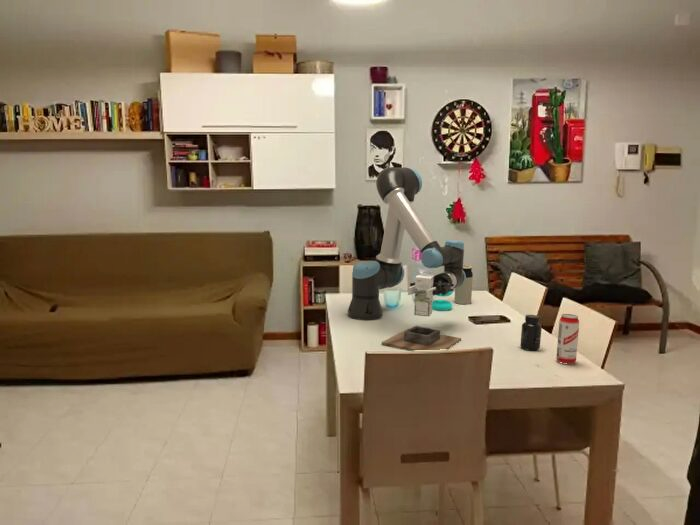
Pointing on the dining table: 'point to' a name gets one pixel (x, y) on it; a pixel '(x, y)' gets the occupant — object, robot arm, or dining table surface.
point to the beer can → (567, 338)
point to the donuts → (442, 303)
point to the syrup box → (423, 295)
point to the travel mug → (465, 287)
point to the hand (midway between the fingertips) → (418, 292)
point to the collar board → (421, 339)
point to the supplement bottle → (531, 333)
